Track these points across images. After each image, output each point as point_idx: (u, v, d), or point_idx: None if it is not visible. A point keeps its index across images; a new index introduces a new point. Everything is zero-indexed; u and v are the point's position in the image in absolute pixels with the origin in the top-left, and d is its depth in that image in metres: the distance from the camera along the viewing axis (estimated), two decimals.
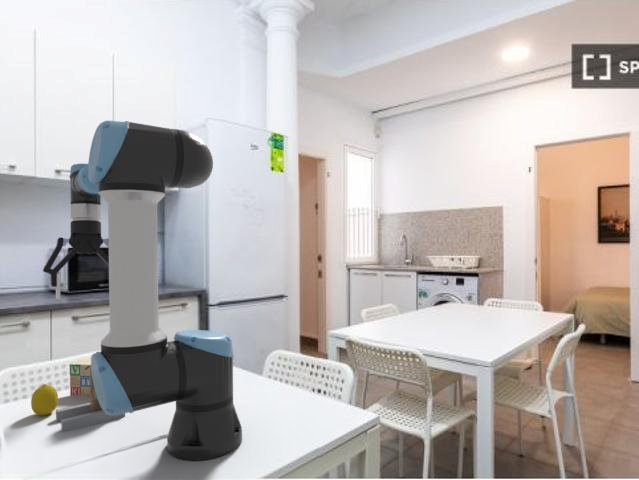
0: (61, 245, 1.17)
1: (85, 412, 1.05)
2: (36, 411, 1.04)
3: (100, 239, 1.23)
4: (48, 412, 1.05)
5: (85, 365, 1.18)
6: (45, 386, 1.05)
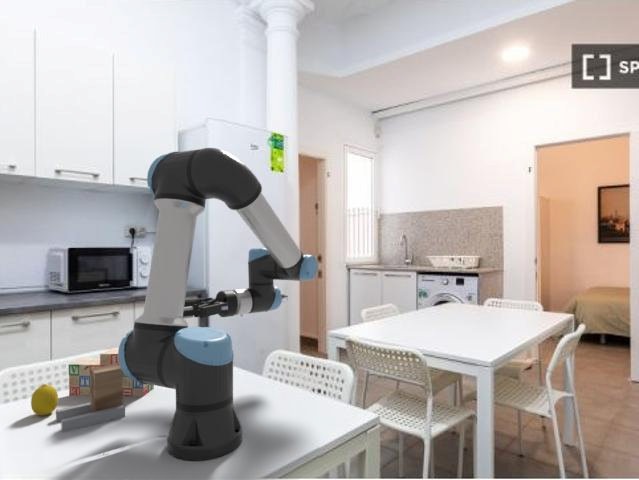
0: None
1: (85, 412, 1.05)
2: (36, 411, 1.04)
3: (221, 302, 1.21)
4: (48, 412, 1.05)
5: (84, 365, 1.18)
6: (45, 386, 1.05)
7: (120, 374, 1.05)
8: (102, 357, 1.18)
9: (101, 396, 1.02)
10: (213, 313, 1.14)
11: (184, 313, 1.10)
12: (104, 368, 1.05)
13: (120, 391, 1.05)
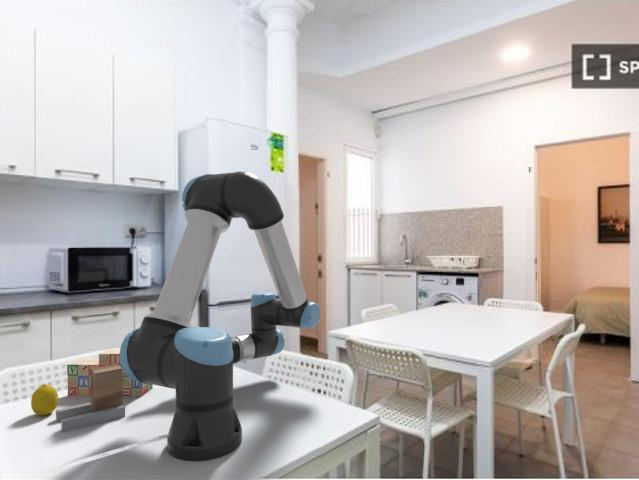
0: None
1: (85, 412, 1.05)
2: (36, 411, 1.04)
3: None
4: (48, 412, 1.05)
5: (83, 365, 1.18)
6: (45, 386, 1.05)
7: (120, 374, 1.05)
8: (101, 357, 1.18)
9: (101, 396, 1.02)
10: None
11: None
12: (104, 368, 1.05)
13: (120, 391, 1.05)
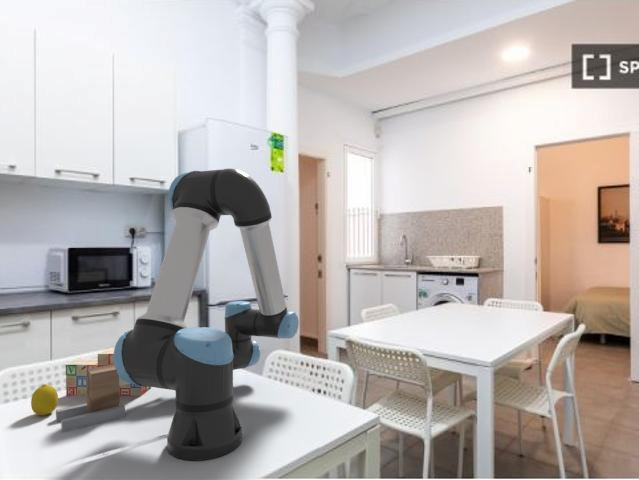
0: None
1: (85, 412, 1.05)
2: (36, 411, 1.04)
3: None
4: (48, 412, 1.05)
5: (81, 365, 1.18)
6: (45, 386, 1.05)
7: (117, 374, 1.05)
8: (100, 357, 1.18)
9: (98, 397, 1.02)
10: None
11: None
12: (100, 369, 1.05)
13: (117, 392, 1.05)
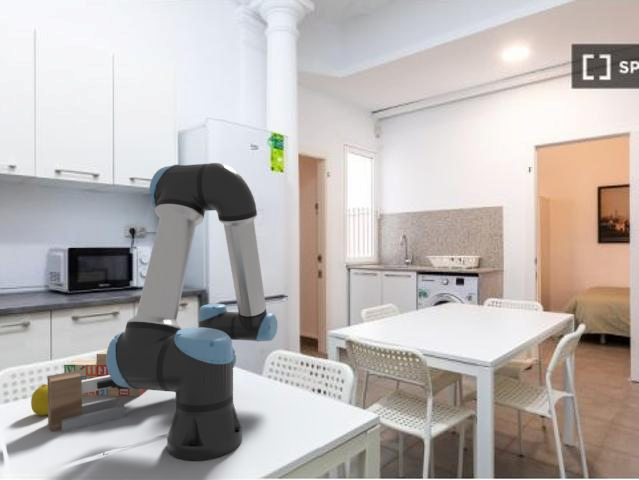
0: None
1: (85, 412, 1.05)
2: (36, 411, 1.04)
3: None
4: None
5: (80, 365, 1.18)
6: (45, 386, 1.05)
7: (79, 382, 1.00)
8: (99, 357, 1.18)
9: (58, 405, 0.97)
10: None
11: (100, 385, 1.03)
12: (62, 376, 1.00)
13: (79, 400, 1.00)
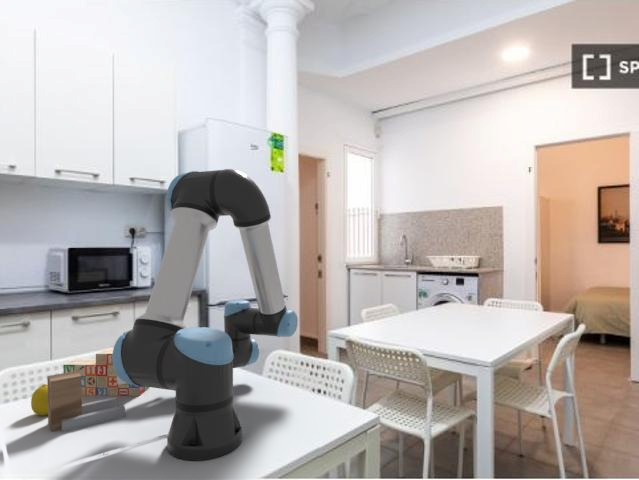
0: None
1: (85, 412, 1.05)
2: (36, 411, 1.04)
3: None
4: None
5: (79, 365, 1.18)
6: (45, 386, 1.05)
7: (79, 382, 1.00)
8: (98, 357, 1.18)
9: (58, 405, 0.97)
10: None
11: None
12: (62, 376, 1.00)
13: (79, 400, 1.00)
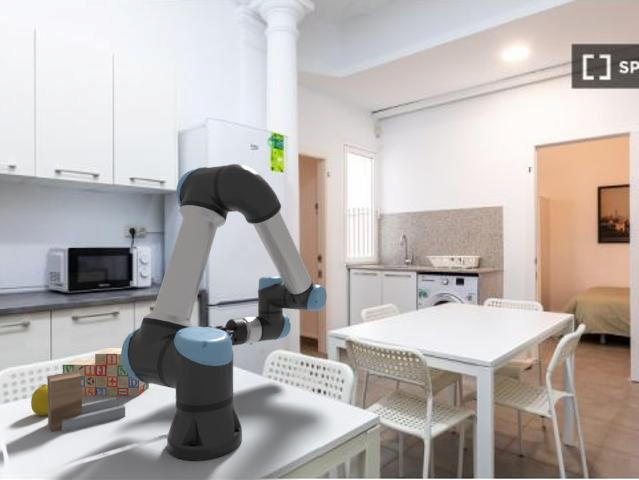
0: None
1: (85, 412, 1.05)
2: (36, 411, 1.04)
3: (230, 331, 1.22)
4: None
5: (79, 365, 1.18)
6: (45, 386, 1.05)
7: (79, 382, 1.00)
8: (97, 357, 1.18)
9: (58, 405, 0.97)
10: None
11: None
12: (62, 376, 1.00)
13: (79, 400, 1.00)
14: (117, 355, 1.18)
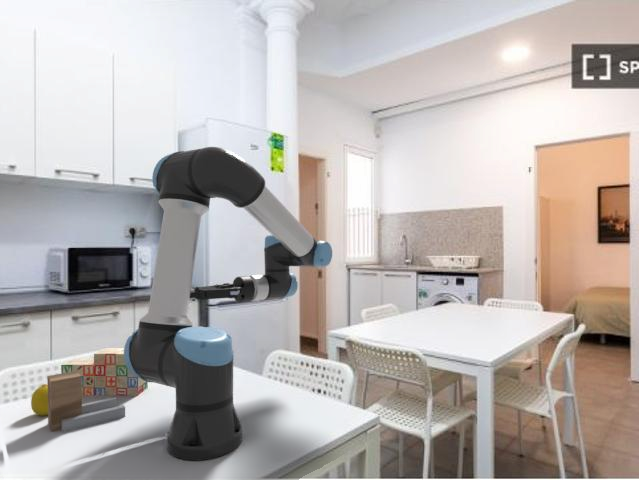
0: (215, 285, 1.26)
1: (85, 412, 1.05)
2: (36, 411, 1.04)
3: (238, 287, 1.22)
4: None
5: (77, 365, 1.18)
6: (45, 386, 1.05)
7: (79, 382, 1.00)
8: (96, 357, 1.18)
9: (58, 405, 0.97)
10: (217, 297, 1.17)
11: None
12: (62, 376, 1.00)
13: (79, 400, 1.00)
14: (116, 355, 1.18)
